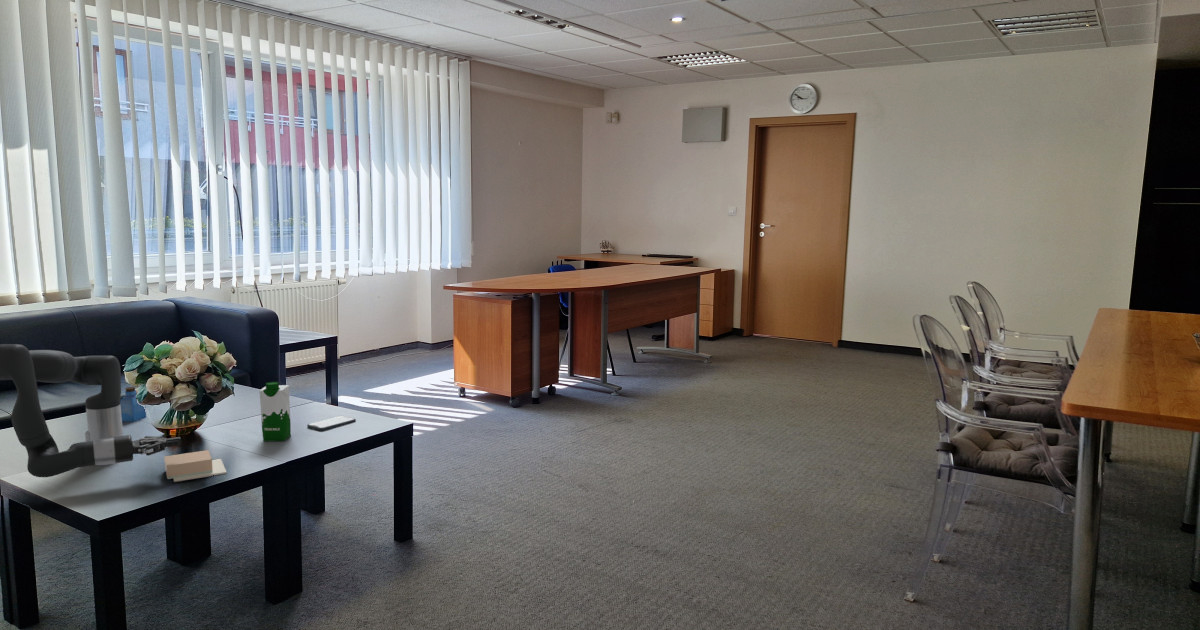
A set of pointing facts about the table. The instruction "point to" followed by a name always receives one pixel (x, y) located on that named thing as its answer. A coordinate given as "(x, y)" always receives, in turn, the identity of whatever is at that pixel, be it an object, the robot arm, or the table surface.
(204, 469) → the beige rectangular block
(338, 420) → the phone case
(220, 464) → the felt mat
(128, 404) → the perfume bottle
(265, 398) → the milk carton
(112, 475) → the table surface
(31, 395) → the robot arm
